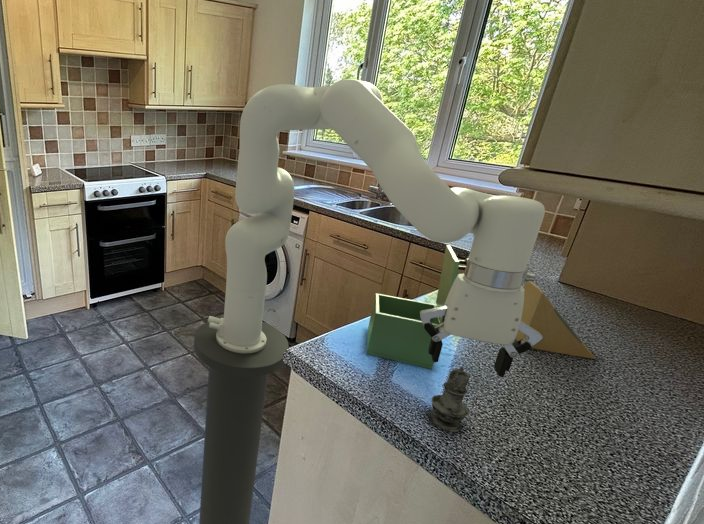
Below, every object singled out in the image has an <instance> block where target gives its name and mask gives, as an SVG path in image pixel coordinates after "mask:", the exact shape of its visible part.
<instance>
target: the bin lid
mask: <svg viewBox="0 0 704 524" xmlns="http://www.w3.org/2000/svg"><path fill="white" fill-rule="evenodd" d="M443 256H444V257H443V261H442V268H441V272H440V277H439V284H438V288H437V289H438V290H437V294H436V299H435V304H436V305H437V307H442V306H444V305H445V302H446V299H447V296H448V294H449V291H450V289H451V287H452V285H453V283H454V281H455V279H456V277H457V276H458V274H459V271H465V269H466V265H467V262H468V258H469V257H467V258H465V259H459V258H458V257H457V254H456V253H455V251H454V250H453V248H452V246H451V245H450V244H446V246H445V250H444V255H443ZM442 323H443V322H442Z"/></svg>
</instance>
